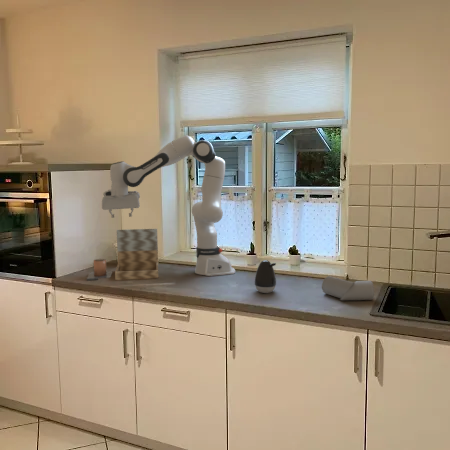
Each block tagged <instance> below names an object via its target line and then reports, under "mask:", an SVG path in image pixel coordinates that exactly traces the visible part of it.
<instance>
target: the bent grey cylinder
mask: <svg viewBox="0 0 450 450" xmlns="http://www.w3.org/2000/svg"><path fill="white" fill-rule="evenodd" d="M321 290H322V292H323V293H324V294H326V295H327V296H328V295H329V296H332V297H335V298H338V299H339V301H341V302H342V301H371V300H373V299H374V297H375V286H374V283H373V281H372V280H356V281H354V282H352V281H349V280H345V279H342V278H339V277H334V276H331V275H329V276H326V277H324V279H323V280H322V283H321Z"/></svg>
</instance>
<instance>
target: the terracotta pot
mask: <svg viewBox="0 0 450 450" xmlns="http://www.w3.org/2000/svg"><path fill="white" fill-rule="evenodd" d="M93 272H94V276H105V275H106V272H107V259H105V258H96V259H94V260H93Z"/></svg>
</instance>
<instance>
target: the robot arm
mask: <svg viewBox="0 0 450 450" xmlns="http://www.w3.org/2000/svg"><path fill="white" fill-rule="evenodd" d="M190 156H192V157H193V158H194V159H195V160H196V161H198V162H199V163H202V164H204V166H205V167H204V168H205V169H204V174H203V178H202V182H201V183H202V184H201V188H200V189H201V194H202V195H201V196H202V200H201V201H197V202H195V203H194V204H193V205H192V207H191V213H192V214H191V215H192V217H193V220H194V225H195V230H196V248H195V252H196V253H195V256H196V264H195V268H194V273H195V274H196V275H201V276H202V275H203V276H206V277H211V276H212V277H214V276H222V275H233V274H235V273H236V269H235V268H234V267H232V264H231V261H230V259H229V258H227V257H226V256H225V255H223V254H222V253H223V249H222V248H221V247H219V246H218V232H217V230H216V228H215V224H216V223H219V222H220V221H221V220H222V219H223V213H224V212H223V209H222V189H223V184H224V180H225V175H226V161H225V160H224V159H223V158H221V157H220V156H216V152H215V148H214V147H213V145H212V143H211V142H209V140H204V139H201V140H199V141H197V142H196V141H195V140H194V139H193V137H192V136H189V135H183V136H180V137H177V138H175V139H173V140H172V141H170V142H169V143H167V144H166V145H164V146H163V147H162V148H161V149H160V150H159V151H158V152H157V153H156V154H155V155H154V156H153V157H152V158H150V159H149V160H148V161H146V162H144V163H142V164H141V165H139V166H133V165H131V164H128V163H127V162H125V161H118V162H113V163H112V164H111V165H110V168H109V169H110V172H109V174H110V182H111V186H110V189H108V190H105V191H104V192H103V193H102V194H103V197H102V199H101V209H102V210H104V211H106V210H108V213H109V214H110V216H111V218H115V213H113V212H112V211H113V210H122V209H124V210H126V209H130V210H131V211H130V212H129V213H128V216H129V217H131V218H132V217H133V212H134V209H139V208H140V197H141V196H140V195H141V194H140V192H138V191H137V190H134V191H129V188H130V187H131V188H136V187H138V186H140V185H141V184H142V182H144V180H145V179H146V177H148V176H149V175H150V174H152V173H154V172H156V171H157V170H159V169H161V168H163V167H168V166H172V165H174V164H177V163H178V162H180V161H182V160H184V159H185V158H186V157H190Z"/></svg>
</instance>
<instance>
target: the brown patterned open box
mask: <svg viewBox="0 0 450 450" xmlns="http://www.w3.org/2000/svg"><path fill="white" fill-rule="evenodd" d="M158 244H159V243H158V228H136V229H135V228H134V229H116V245H117V246H116V247H117V248H116V250H117V252H116V253H117V265H116V269H115V271H114V277H115V278H114V279H115V281H121V280H139V279H140V280H141V279H142V280H143V279H146V280H147V279H159V251H158V249H159V248H158Z"/></svg>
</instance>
